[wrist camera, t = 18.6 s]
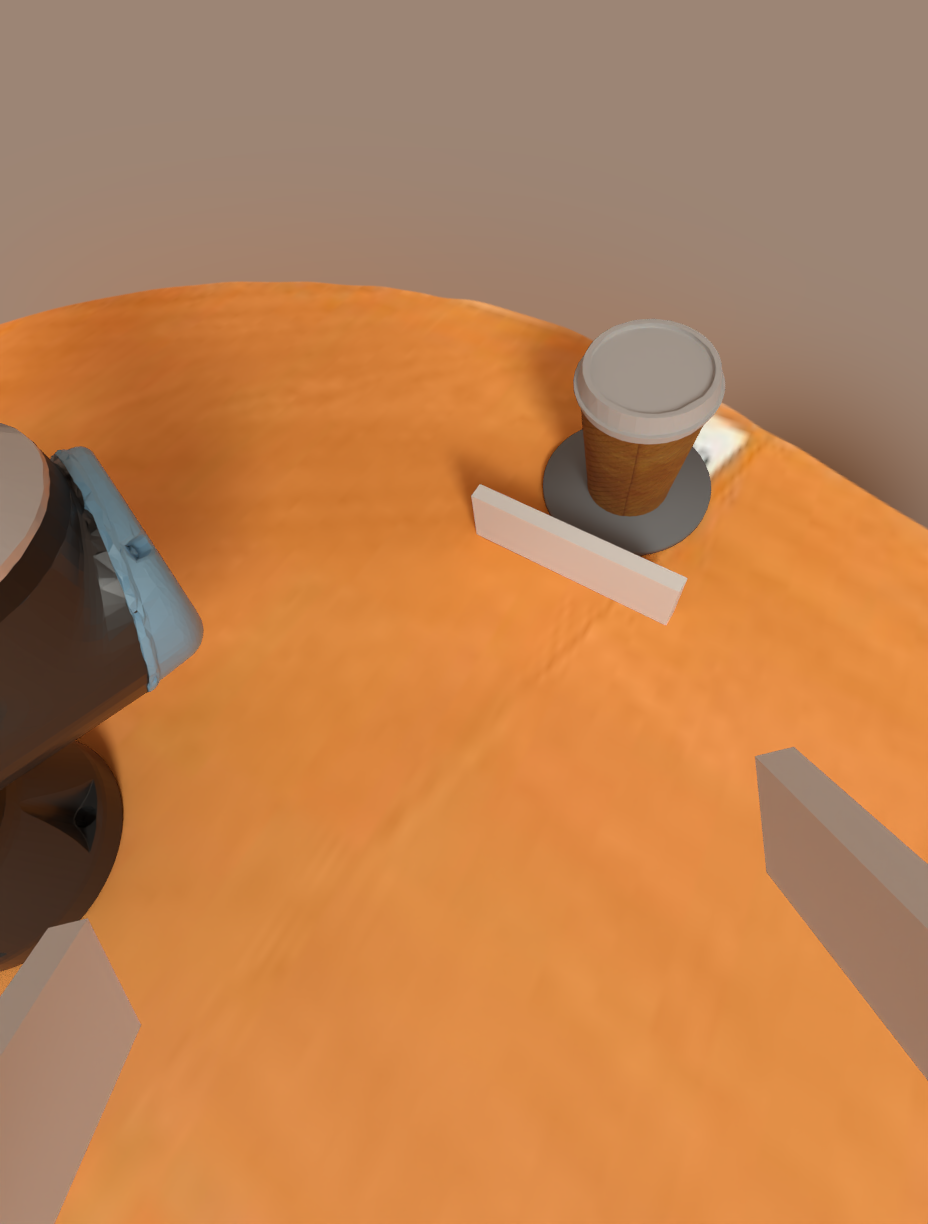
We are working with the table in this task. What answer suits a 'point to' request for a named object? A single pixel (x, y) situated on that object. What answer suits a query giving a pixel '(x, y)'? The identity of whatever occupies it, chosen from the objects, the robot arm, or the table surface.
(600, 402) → the disposable coffee cup
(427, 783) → the table surface
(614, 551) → the low wall
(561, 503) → the rubber pad
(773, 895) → the table surface
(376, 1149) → the table surface
